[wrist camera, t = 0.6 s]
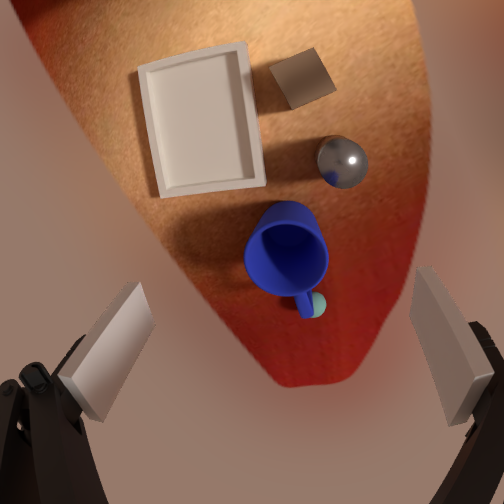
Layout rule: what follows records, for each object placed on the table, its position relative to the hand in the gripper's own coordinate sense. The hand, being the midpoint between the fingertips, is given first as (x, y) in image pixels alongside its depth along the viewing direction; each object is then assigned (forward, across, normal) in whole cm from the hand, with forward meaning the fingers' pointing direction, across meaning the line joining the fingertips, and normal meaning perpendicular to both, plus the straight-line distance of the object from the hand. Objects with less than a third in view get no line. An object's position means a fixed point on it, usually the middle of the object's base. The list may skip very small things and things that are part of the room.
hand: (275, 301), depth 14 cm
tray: (+25, -9, +8) cm, 28 cm away
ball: (+25, +2, -17) cm, 30 cm away
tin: (+25, +6, +2) cm, 26 cm away
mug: (+25, 0, -8) cm, 26 cm away
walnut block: (+26, +3, +11) cm, 28 cm away
